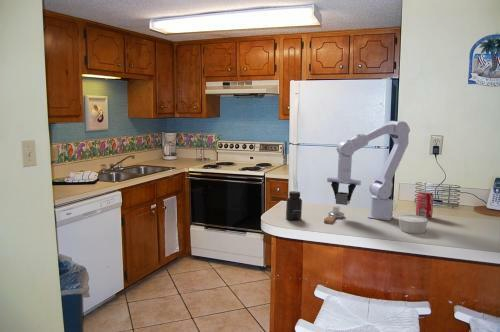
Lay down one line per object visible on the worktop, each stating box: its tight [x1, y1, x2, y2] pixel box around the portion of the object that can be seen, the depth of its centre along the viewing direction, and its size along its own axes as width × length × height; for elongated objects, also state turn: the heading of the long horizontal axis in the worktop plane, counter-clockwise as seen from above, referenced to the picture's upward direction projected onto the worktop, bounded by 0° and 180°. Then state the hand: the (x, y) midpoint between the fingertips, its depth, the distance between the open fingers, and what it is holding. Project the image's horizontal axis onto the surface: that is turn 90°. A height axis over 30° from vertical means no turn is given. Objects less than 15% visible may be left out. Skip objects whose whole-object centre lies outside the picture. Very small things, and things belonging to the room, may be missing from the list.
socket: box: [335, 191, 351, 206], centre depth 184 cm, size 5×5×4 cm
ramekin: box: [397, 214, 429, 235], centre depth 168 cm, size 11×11×5 cm
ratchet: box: [323, 205, 345, 225], centre depth 184 cm, size 16×7×4 cm, turn 152°
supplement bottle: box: [285, 190, 303, 222], centre depth 182 cm, size 7×7×12 cm
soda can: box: [415, 190, 435, 220], centre depth 189 cm, size 7×7×12 cm
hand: (342, 199), depth 184 cm, fingers closed on socket, 5 cm apart
